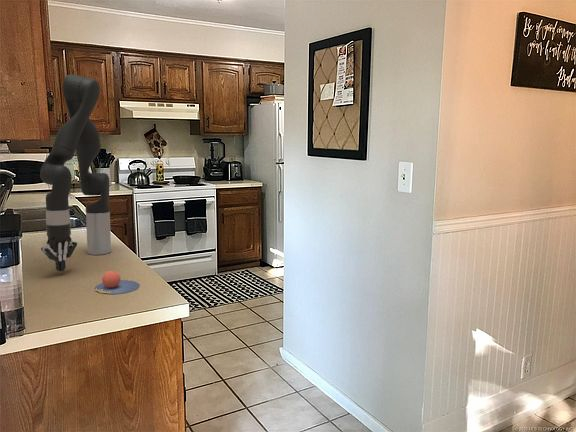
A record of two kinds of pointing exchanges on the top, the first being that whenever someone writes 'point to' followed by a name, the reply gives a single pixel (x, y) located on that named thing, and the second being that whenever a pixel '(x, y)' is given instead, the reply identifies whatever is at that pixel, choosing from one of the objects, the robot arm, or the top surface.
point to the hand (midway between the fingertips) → (61, 270)
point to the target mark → (120, 287)
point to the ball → (111, 279)
